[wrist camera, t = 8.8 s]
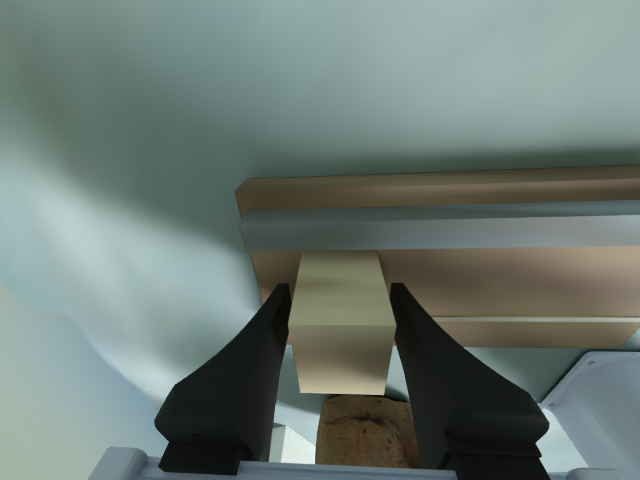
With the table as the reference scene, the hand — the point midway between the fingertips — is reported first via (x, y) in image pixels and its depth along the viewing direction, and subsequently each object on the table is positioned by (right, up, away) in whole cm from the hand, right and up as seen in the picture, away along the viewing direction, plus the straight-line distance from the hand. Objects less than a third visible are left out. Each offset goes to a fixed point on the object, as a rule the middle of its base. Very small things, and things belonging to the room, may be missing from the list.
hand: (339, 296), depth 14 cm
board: (+7, +2, +2) cm, 8 cm away
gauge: (0, -1, +2) cm, 2 cm away
